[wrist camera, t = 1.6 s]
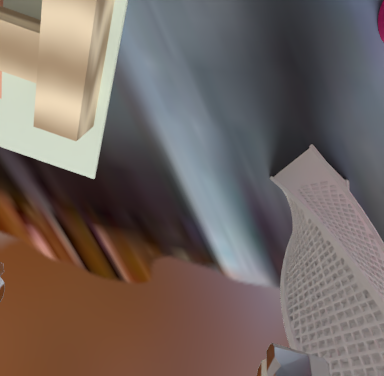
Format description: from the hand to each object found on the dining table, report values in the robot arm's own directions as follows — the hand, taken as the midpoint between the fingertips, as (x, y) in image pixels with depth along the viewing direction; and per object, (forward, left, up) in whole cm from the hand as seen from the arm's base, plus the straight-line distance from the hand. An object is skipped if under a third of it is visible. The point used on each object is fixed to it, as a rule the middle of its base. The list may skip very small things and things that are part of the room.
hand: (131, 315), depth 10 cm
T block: (+1, -16, -25) cm, 29 cm away
